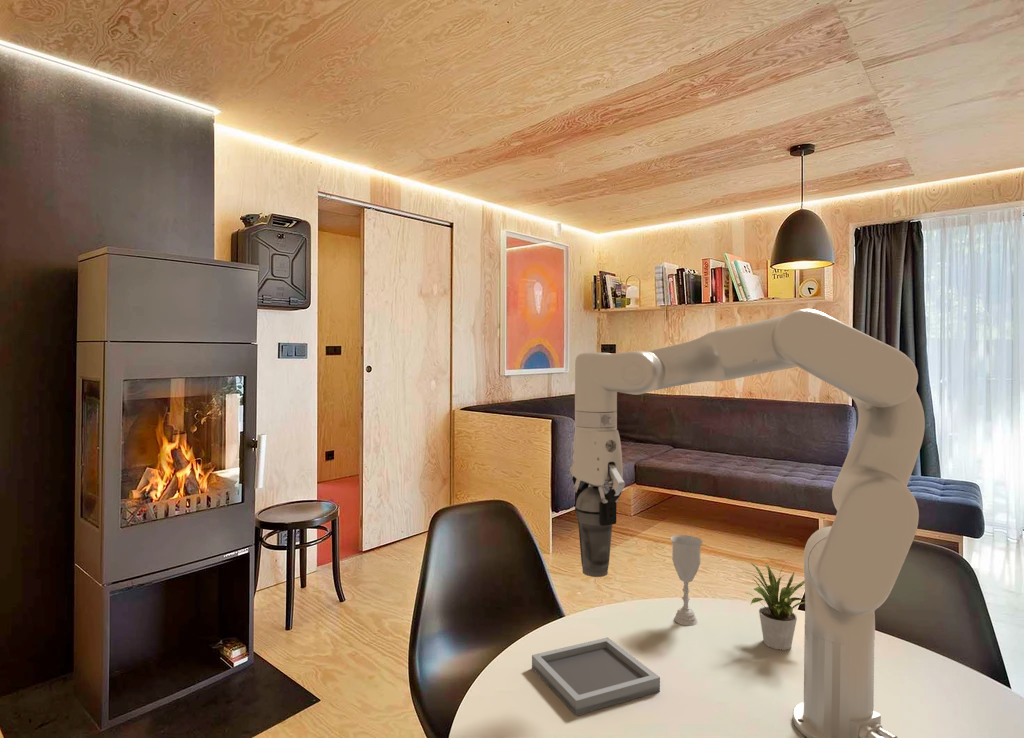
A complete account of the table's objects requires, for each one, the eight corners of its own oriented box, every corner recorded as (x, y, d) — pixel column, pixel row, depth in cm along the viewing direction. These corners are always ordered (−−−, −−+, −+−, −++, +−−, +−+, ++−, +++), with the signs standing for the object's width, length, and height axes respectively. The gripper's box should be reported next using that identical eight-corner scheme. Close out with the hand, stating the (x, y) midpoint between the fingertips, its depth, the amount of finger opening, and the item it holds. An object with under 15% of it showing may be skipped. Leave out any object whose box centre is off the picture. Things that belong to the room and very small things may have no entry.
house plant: (719, 636, 121) (720, 559, 121) (758, 620, 129) (759, 548, 129) (783, 667, 109) (784, 581, 109) (822, 647, 117) (823, 567, 117)
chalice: (663, 615, 131) (664, 536, 131) (689, 611, 133) (689, 533, 133) (682, 629, 124) (682, 546, 124) (708, 625, 126) (709, 543, 126)
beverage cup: (615, 581, 100) (615, 466, 100) (572, 578, 101) (573, 464, 101) (616, 567, 107) (616, 459, 107) (576, 564, 109) (576, 458, 108)
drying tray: (659, 691, 101) (660, 677, 101) (576, 715, 94) (576, 700, 94) (607, 649, 115) (607, 637, 115) (531, 668, 108) (531, 654, 108)
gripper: (642, 424, 98) (642, 529, 98) (587, 416, 113) (587, 505, 114) (605, 426, 94) (605, 534, 95) (554, 417, 110) (553, 509, 110)
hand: (595, 518), depth 104 cm, fingers closed on beverage cup, 7 cm apart
